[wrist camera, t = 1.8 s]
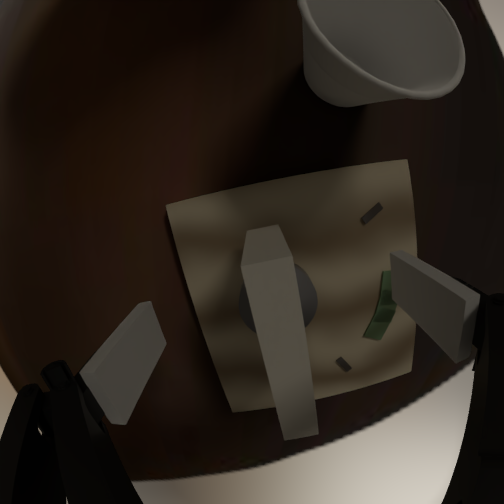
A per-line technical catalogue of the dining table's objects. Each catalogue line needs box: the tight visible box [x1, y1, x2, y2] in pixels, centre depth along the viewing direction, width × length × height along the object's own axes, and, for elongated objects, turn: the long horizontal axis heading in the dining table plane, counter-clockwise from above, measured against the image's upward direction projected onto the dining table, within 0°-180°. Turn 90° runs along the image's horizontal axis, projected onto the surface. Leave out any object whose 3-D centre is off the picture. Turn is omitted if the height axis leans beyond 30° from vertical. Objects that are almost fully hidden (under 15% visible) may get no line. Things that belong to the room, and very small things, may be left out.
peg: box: [239, 224, 319, 440], centre depth 19 cm, size 15×6×10 cm, turn 12°
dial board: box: [166, 159, 417, 412], centre depth 24 cm, size 22×20×1 cm
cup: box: [297, 0, 465, 107], centre depth 14 cm, size 10×10×11 cm
